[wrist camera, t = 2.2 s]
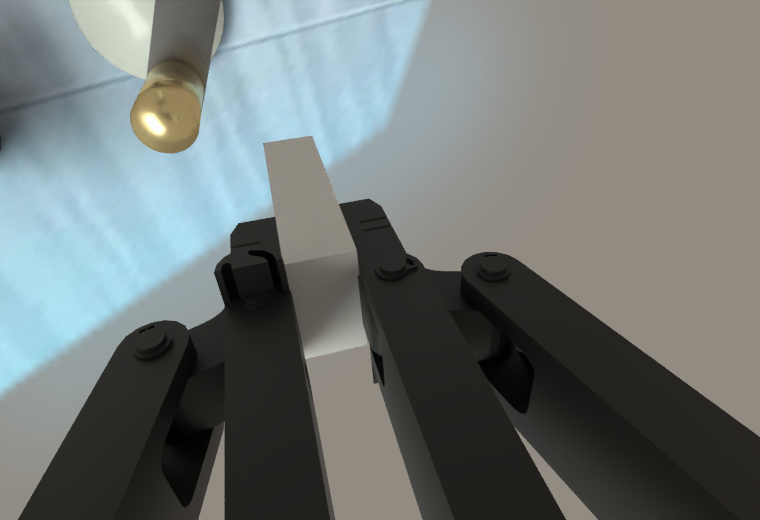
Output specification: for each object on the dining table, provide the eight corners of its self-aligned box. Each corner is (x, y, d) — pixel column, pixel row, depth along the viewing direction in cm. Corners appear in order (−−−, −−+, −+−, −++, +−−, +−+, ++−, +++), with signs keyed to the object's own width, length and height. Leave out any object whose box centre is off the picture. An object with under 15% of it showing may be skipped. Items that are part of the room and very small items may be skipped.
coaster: (73, -106, 31) (70, -106, 30) (235, -43, 35) (236, -42, 34) (68, 55, 35) (65, 57, 35) (211, 94, 39) (211, 97, 39)
